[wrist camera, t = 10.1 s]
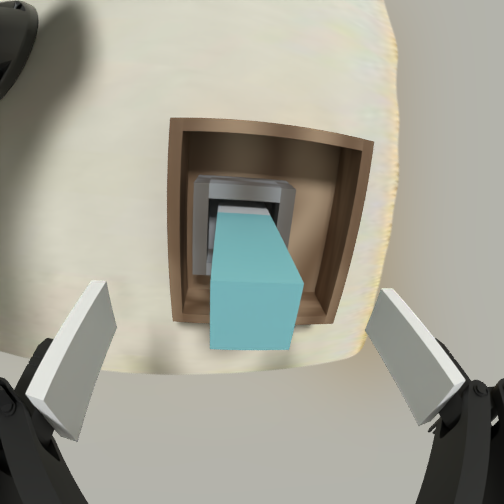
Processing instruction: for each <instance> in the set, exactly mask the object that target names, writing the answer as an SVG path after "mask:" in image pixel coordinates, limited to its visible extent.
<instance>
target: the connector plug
mask: <svg viewBox="0 0 504 504" xmlns="http://www.w3.org/2000/svg"><path fill="white" fill-rule="evenodd" d="M303 286H304V282H303V280H302V278H301V276H300V274H299V272H298V270H297V268H296V266H295V264H294V262H293V260H292V258H291V256H290V254H289V252H288V250H287V247H286V245H285V243H284V241H283V239H282V237H281V235H280V233H279V231H278V229H277V227H276V225H275V223H274V221H273V219H272V218H271V216H270V214H269V212H268V210H267V208H266V206H265V204H264V202H251V201H235V200H219V205H218V213H217V222H216V231H215V240H214V249H213V259H212V269H211V280H210V349H222V350H289V347H290V343H291V339H292V335H293V331H294V326H295V322H296V318H297V313H298V309H299V305H300V300H301V295H302V291H303Z"/></svg>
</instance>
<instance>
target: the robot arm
mask: <svg viewBox="0 0 504 504" xmlns="http://www.w3.org/2000/svg"><path fill="white" fill-rule="evenodd" d="M37 27H38V15H37V11H36V9H35V8H34V7H33V6H32V5H30V4H28V3H25V2H23V1H6V2H0V99H1V98H2V97H3V96H4V95H5V94H6V93H7V91H8V90H9V89H10V87H11V86H12V85H13V83H14V82H15V80H16V79H17V77H18V75H19V74H20V72H21V70H22V68H23V66H24V64H25V62H26V60H27V58H28V56H29V53H30V51H31V49H32V46H33V43H34V40H35V36H36V32H37ZM116 329H117V326H116V322H115V318H114V314H113V310H112V306H111V301H110V297H109V292H108V287H107V282H106V281H99V280H92V281H91V282H90V284H89V285H88V286H87V288H86V289H85V291H84V292H83V294H82V295H81V297H80V298H79V300H78V301H77V303H76V304H75V306H74V307H73V309H72V310H71V312H70V314H69V315H68V317H67V318H66V320H65V321H64V323H63V325H62V326H61V328H60V330H59V331H58V333H57V335H56V336H55V338H54V339H50V338H46V339H45V340H44V341H43V342H42V343H41V344H39V345H38V347H37V349H36V350H35V352H34V354H33V357H31V359H30V361H29V364H28V365H27V366H26V368H25V370H24V372H23V374H22V376H21V378H20V380H19V381H18V383H17V386H16V388H15V390H14V389H13V388H12V387H11V385H10V384H9V382H8V381H7V380H6V379H4V378H1V377H0V504H88V502H87V501H86V499H85V497H84V496H83V494H82V493H81V491H80V489H79V487H78V486H77V484H76V482H75V480H74V478H73V476H72V475H71V473H70V471H69V469H68V467H67V465H66V463H65V461H64V459H63V457H62V455H61V452H60V450H59V448H58V446H57V443H56V441H55V439H54V437H53V436H52V434H53V431H54V430H55V431H56V432H57V433H58V434H59V435H60V436H61V437H64V438H67V439H70V440H73V441H76V442H78V438H79V434H80V431H81V428H82V424H83V421H84V417H85V414H86V410H87V408H88V404H89V401H90V398H91V395H92V392H93V389H94V386H95V383H96V380H97V378H98V375H99V372H100V369H101V367H102V364H103V361H104V359H105V356H106V353H107V351H108V348H109V346H110V343H111V341H112V338H113V336H114V333H115V331H116ZM365 331H366V333H367V334H368V336H369V338H370V339H371V341H372V342H373V344H374V346H375V347H376V349H377V351H378V353H379V355H380V356H381V358H382V360H383V361H384V363H385V365H386V367H387V368H388V370H389V372H390V374H391V375H392V377H393V379H394V381H395V382H396V384H397V386H398V388H399V390H400V391H401V393H402V395H403V397H404V399H405V401H406V403H407V404H408V406H409V408H410V410H411V412H412V414H413V416H414V418H415V420H416V421H417V423H418V426H420V425H422V424H425V423H427V422H429V421H431V420H432V419H433V418H434V417H435V416H436V415H437V414H438V413H439V414H440V416H441V417H440V418H439V419H438V420H437V421H436V422H435V423H434V424H433V425H432V426H431V427H430V428H429V430H428V432H431V431H432V430H433V429H434V428H435V427H436V429H435V431H434V432H433V434H435V436H434V441H433V445H432V450H431V454H430V458H429V462H428V466H427V470H426V473H425V476H424V480H423V483H422V486H421V489H420V492H419V495H418V498H417V501H416V504H504V378H503V379H501V380H500V381H499V382H498V383H497V384H496V386H495V387H487V386H486V385H485V384H484V383H483V382H481V381H479V380H473V381H471V380H470V379H469V377H468V376H467V375H466V373H465V372H464V370H463V369H462V368H461V366H460V365H459V364H458V362H457V361H456V360H455V359H454V357H453V356H452V354H451V353H449V350H448V349H447V348H446V347H445V345H444V344H443V343H441V342H440V341H439V340H438V339H436V338H434V337H433V336H432V334H431V333H430V332H429V331H428V329H427V328H426V327H425V326H424V324H423V323H422V322H421V321H420V320H419V319H418V317H417V316H416V315H415V314H414V312H413V311H412V310H411V309H410V308H409V306H408V305H407V304H406V303H405V302H404V301H403V299H402V298H401V297H400V296H399V295H398V294H397V293H396V292H395V290H394V289H393V288H383V289H381V290H380V293H379V296H378V299H377V301H376V304H375V307H374V309H373V312H372V314H371V317H370V319H369V322H368V324H367V327H366V329H365ZM497 415H498V418H499V421H498V422H497V423H496V424H495V425H494V426H492V425H491V421H493V420H494V419H495V418H496V416H497Z"/></svg>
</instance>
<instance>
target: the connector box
mask: <svg viewBox="0 0 504 504" xmlns="http://www.w3.org/2000/svg"><path fill="white" fill-rule="evenodd" d="M373 146H374V142H373V141H369V140H365V139H361V138H357V137H352V136H348V135H343V134H338V133H333V132H328V131H323V130H317V129H311V128H305V127H298V126H291V125H284V124H276V123H267V122H258V121H247V120H233V119H215V118H170V129H169V147H168V174H167V233H168V261H169V279H170V294H171V306H172V317H173V321H176V322H192V323H210V280H211V269H212V259H213V249H214V240H215V231H216V222H217V213H218V205H219V200H235V201H251V202H264V204H265V206H266V208H267V210H268V212H269V214H270V216H271V218H272V219H273V221H274V223H275V225H276V227H277V229H278V231H279V233H280V235H281V237H282V239H283V241H284V243H285V245H286V247H287V250H288V252H289V254H290V256H291V258H292V260H293V262H294V264H295V266H296V268H297V270H298V272H299V274H300V276H301V278H302V280H303V282H304V286H303V291H302V295H301V300H300V305H299V309H298V313H297V318H296V322H295V325H303V324H333V322H334V318H335V315H336V312H337V309H338V306H339V302H340V299H341V296H342V292H343V289H344V285H345V282H346V278H347V274H348V271H349V267H350V263H351V259H352V255H353V251H354V247H355V243H356V239H357V234H358V230H359V225H360V221H361V216H362V211H363V206H364V201H365V196H366V190H367V185H368V179H369V173H370V167H371V160H372V154H373Z"/></svg>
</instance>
